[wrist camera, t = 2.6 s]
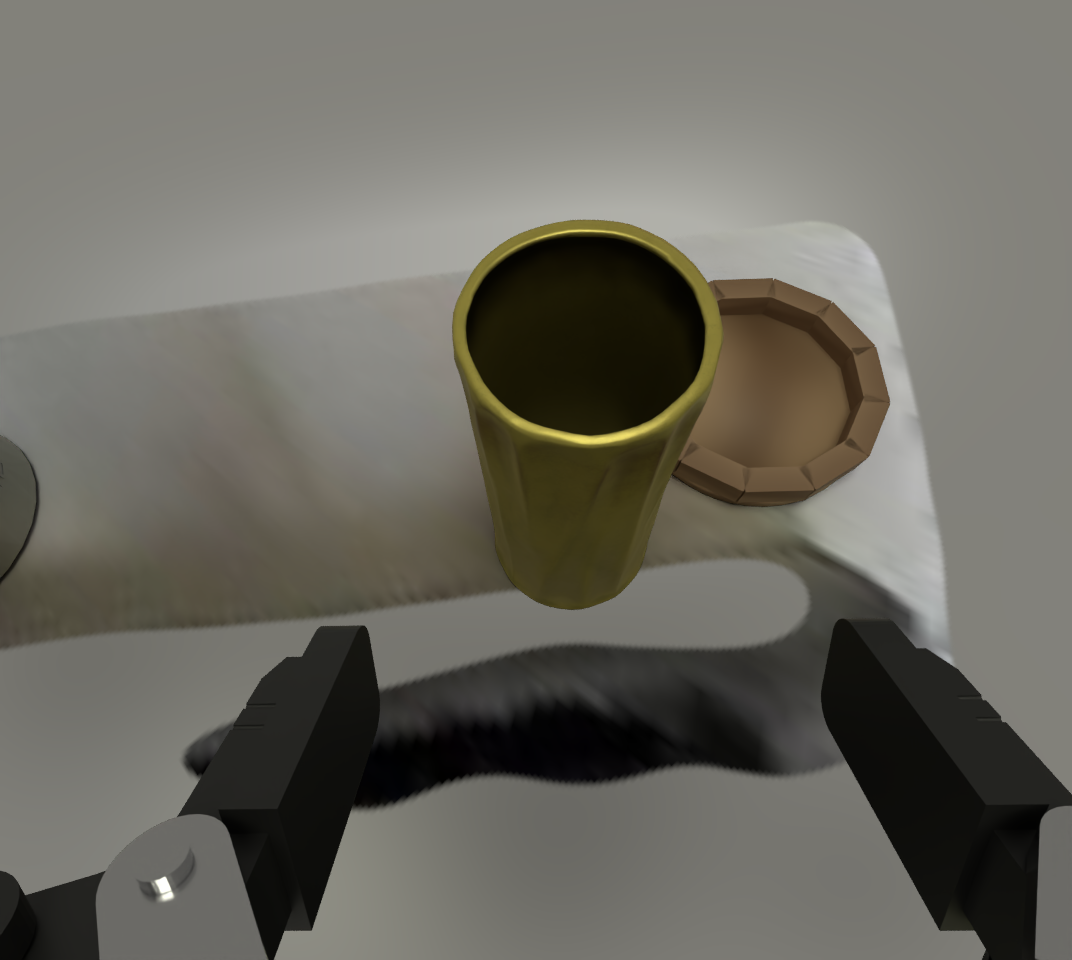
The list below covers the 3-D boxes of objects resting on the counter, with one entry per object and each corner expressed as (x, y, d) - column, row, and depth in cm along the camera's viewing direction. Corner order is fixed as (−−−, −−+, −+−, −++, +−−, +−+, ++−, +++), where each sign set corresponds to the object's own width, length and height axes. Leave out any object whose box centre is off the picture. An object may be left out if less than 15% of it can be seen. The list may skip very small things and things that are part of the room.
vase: (566, 644, 23) (579, 540, 10) (464, 530, 25) (362, 314, 12) (677, 539, 25) (818, 328, 11) (573, 438, 26) (590, 154, 13)
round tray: (642, 509, 25) (648, 494, 24) (625, 308, 29) (629, 283, 27) (888, 503, 25) (912, 487, 23) (839, 301, 29) (857, 275, 27)
